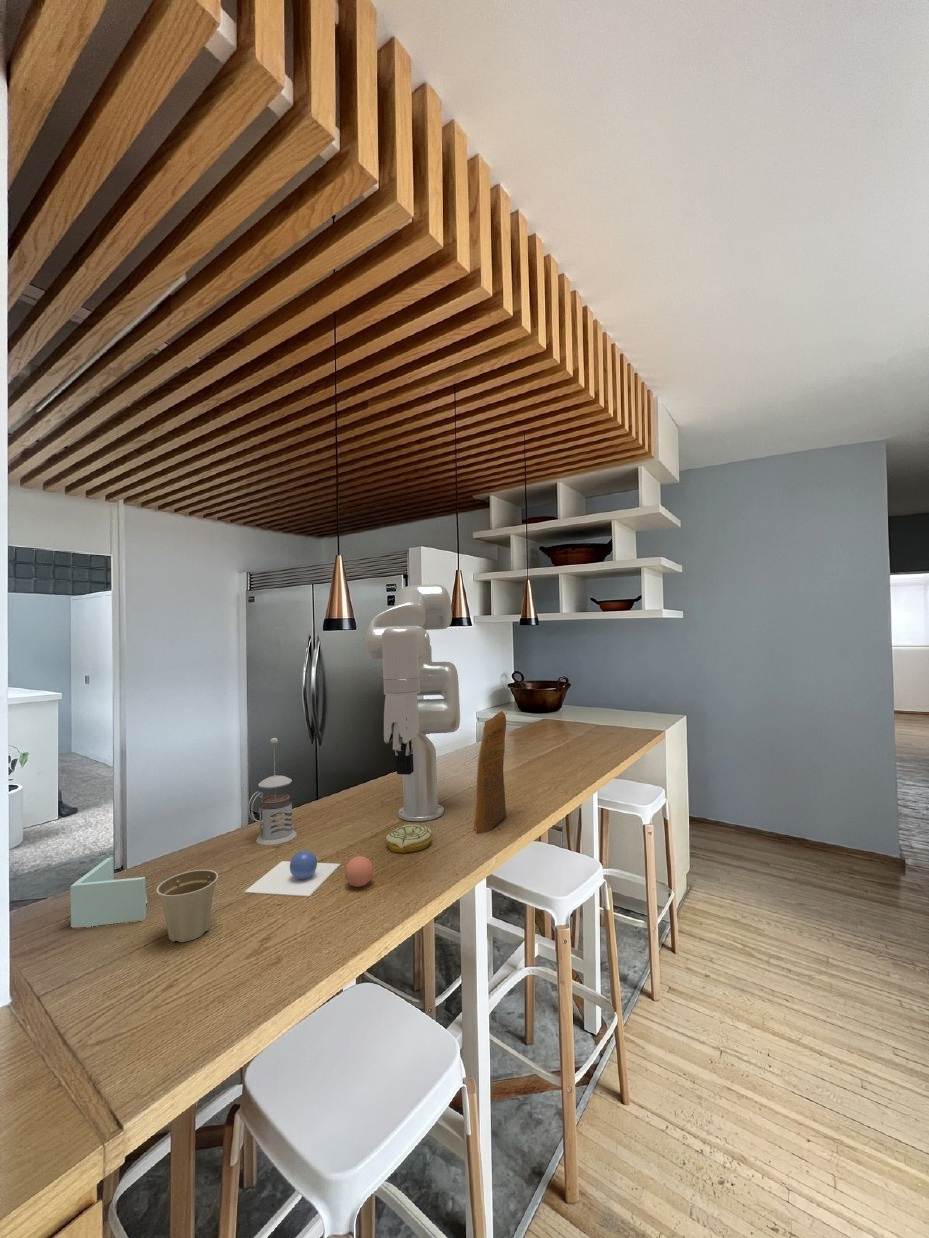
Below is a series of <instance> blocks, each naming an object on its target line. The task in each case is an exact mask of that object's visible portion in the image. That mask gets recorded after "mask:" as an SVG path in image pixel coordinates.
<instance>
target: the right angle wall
mask: <svg viewBox="0 0 929 1238" xmlns="http://www.w3.org/2000/svg"><path fill="white" fill-rule="evenodd" d="M114 874H115V872H114V857H112V856H111V857H107V858H105V859H104V860H103V861H102V862H100V863H99V864H97V865H96V866H95V867H94V868H92V869H91V870H89V871H88V872H87V873H86V874H84V875H82V876H81V877H80V878H79V879H78V880H76V881H75V882H74V883H73V884H71V885H70V886H69V887H70V889H69V890H70V928H71V927H86V928H94V927H93V926H96V927H99V926H98V925H103V924H113V923H120V922H127V921H133V920H144V919H145V917H146V918H147V906H146V903H148V897H147V896H148V894H147V892H146V877H145V876H143V877H132V878H131V877H130V878H121V879H120V878H119V879H114V878H115V877H114ZM110 876H111V877H110ZM91 926H92V927H91Z"/></svg>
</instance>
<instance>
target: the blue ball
mask: <svg viewBox="0 0 929 1238" xmlns="http://www.w3.org/2000/svg"><path fill="white" fill-rule="evenodd" d="M289 862H290V872H291V874H292V875H293V877H295V878H296V879H299V880H304V879H307V878H309V877H311V876H312V875H313V874H314V872H315V871H316V868H317V863H318V859H317V856H316V855H315V854H314V852H312V851H310V850H301V851H298V852H297V853H295V854H294V855H293V856H292V857H291V860H290V861H289Z"/></svg>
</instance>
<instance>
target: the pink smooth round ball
mask: <svg viewBox="0 0 929 1238" xmlns="http://www.w3.org/2000/svg"><path fill="white" fill-rule="evenodd" d="M373 875H374V867H373V864H372V862H371V860H370V859H369V858H367V857H365V856H362V855H361V856H360V855H359V856H355V857H352V859H350V860H349V861H348V863H347V864H346V866H345V871H344V876H345V879H346V881H347V882H348V884H349V885H351V886H352V887H357V888H358V887H359V888H360V887H363V886H366V885H367V884H368V883H369V882H370V881H371V880H372V877H373Z"/></svg>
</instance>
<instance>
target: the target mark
mask: <svg viewBox="0 0 929 1238" xmlns="http://www.w3.org/2000/svg"><path fill="white" fill-rule="evenodd" d="M290 862H291V861H284V860H281V861H280V862H279V863H278V864H276V865H275V866H274V867H273V868H272V869H270V870H269V871H268V872H267V873H265V874H264V875H263V876H261V878H259V879H258V880H256V881H255V882H254V883H253V884H252V885H251V886H249V887H248V888H246V889H245V890H244V891H243V893H244V894H255V895H257V894H258V895H272V896H289V897H290V896H291V897H294V896H295V897H306V898H307V897H309V898H310V897H311V896H312V895H313V894H314V893H315V892H316V891H317V889H319V888H320V887H321V886H322V885H323V884H324V882H326V880H327V879H328V878H330V876H332V874H334V872H335V871H336V870H337V869H338V868H339V867H340V866H341V863H332V862H331V863H329V862H317V868H316V871H315V872H314V874H313V875H312V876H311V877H309V878H307V879H304V880H299V879H296V878H295V877H293V875H292V874H291V872H290Z"/></svg>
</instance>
